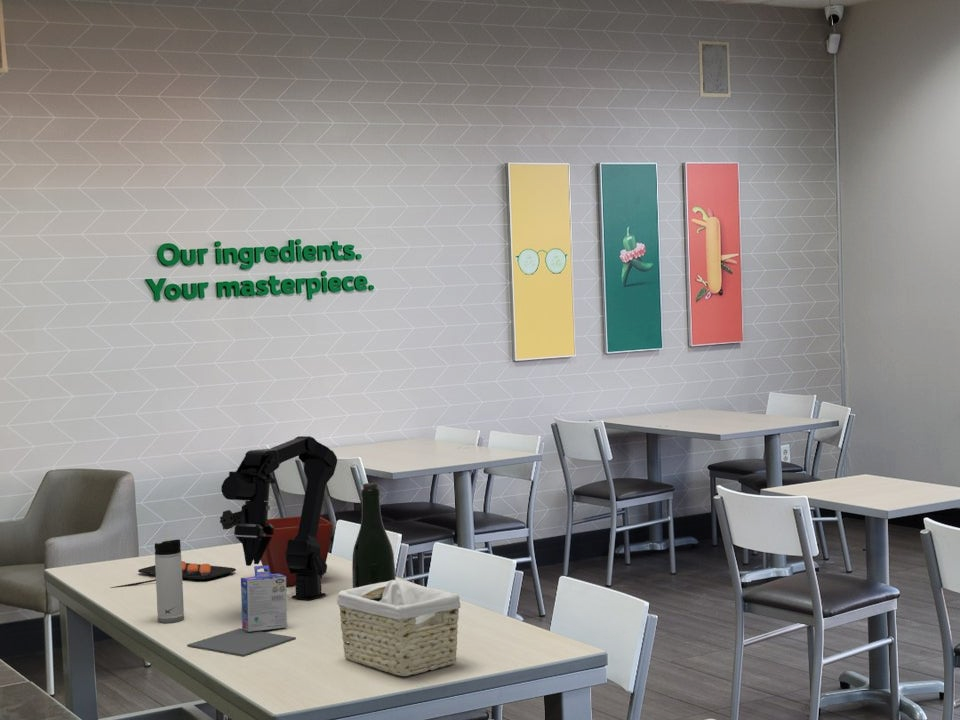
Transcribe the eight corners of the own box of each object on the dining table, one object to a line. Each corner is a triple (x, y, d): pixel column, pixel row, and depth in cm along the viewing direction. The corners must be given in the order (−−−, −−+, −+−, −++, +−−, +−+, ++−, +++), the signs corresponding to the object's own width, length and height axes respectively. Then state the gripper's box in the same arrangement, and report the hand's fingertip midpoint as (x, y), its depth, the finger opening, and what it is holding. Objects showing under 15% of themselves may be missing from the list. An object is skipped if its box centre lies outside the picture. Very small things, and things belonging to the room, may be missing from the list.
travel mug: (171, 624, 287) (167, 542, 286) (152, 621, 290) (148, 540, 290) (190, 618, 292) (186, 537, 292) (171, 616, 296) (167, 536, 295)
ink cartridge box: (280, 623, 283) (279, 563, 283) (288, 628, 278) (287, 566, 279) (240, 628, 278) (239, 566, 278) (247, 632, 273) (247, 570, 274)
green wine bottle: (378, 613, 290) (373, 479, 289) (406, 620, 282) (401, 482, 281) (344, 622, 282) (339, 484, 281) (372, 629, 275) (366, 487, 274)
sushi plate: (240, 574, 347) (240, 561, 347) (162, 596, 321) (161, 582, 321) (171, 567, 362) (170, 555, 362) (91, 587, 337) (90, 574, 337)
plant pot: (320, 571, 344) (317, 513, 344) (335, 584, 326) (333, 523, 326) (254, 578, 338) (251, 520, 337) (266, 591, 320) (263, 529, 319)
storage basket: (336, 659, 251) (333, 589, 251) (399, 643, 261) (396, 577, 261) (401, 682, 233) (398, 607, 232) (466, 665, 243) (463, 593, 242)
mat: (240, 629, 279) (239, 628, 279) (295, 639, 268) (295, 637, 268) (187, 646, 266) (187, 644, 266) (243, 656, 255) (243, 654, 255)
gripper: (233, 500, 303) (228, 561, 301) (215, 499, 284) (210, 565, 282) (276, 502, 303) (272, 564, 301) (261, 501, 284) (257, 567, 282)
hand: (252, 564), depth 291 cm, fingers open, 9 cm apart
